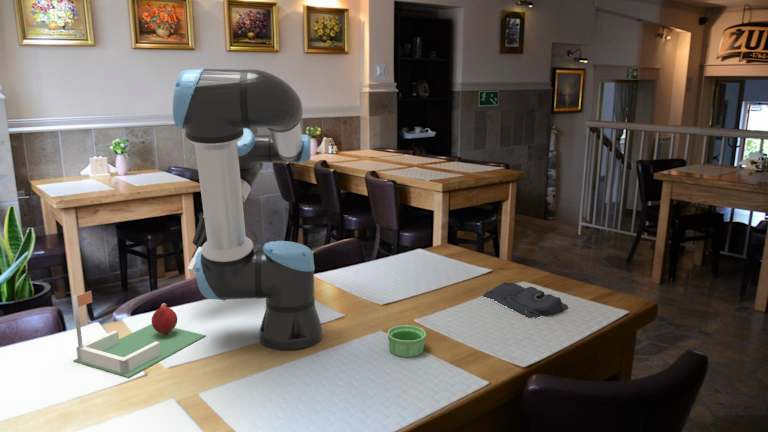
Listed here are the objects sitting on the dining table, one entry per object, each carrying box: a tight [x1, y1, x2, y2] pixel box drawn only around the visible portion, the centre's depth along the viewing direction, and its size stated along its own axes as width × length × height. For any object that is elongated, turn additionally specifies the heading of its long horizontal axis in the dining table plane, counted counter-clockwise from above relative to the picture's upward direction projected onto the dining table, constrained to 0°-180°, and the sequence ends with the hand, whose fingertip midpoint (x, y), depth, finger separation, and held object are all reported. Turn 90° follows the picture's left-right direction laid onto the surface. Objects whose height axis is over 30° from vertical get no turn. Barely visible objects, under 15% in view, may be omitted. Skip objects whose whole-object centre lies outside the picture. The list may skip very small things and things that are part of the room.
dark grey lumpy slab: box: [482, 282, 569, 319], centre depth 165 cm, size 15×22×5 cm
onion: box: [151, 302, 178, 335], centre depth 140 cm, size 6×6×8 cm
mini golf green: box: [72, 290, 161, 374], centre depth 128 cm, size 14×10×15 cm
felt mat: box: [73, 323, 206, 379], centre depth 134 cm, size 17×23×1 cm
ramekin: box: [386, 324, 427, 358], centre depth 134 cm, size 9×9×4 cm
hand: (192, 271), depth 148 cm, fingers closed
